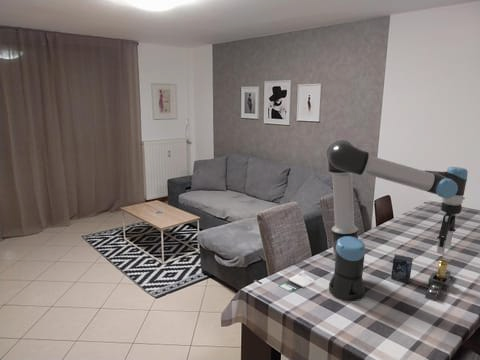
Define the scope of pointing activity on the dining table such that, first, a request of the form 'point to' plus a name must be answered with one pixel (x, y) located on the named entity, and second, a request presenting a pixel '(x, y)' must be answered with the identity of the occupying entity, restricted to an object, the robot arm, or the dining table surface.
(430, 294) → the studded dark bracket
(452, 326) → the dining table surface
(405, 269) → the box
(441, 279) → the pin
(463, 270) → the dining table surface
